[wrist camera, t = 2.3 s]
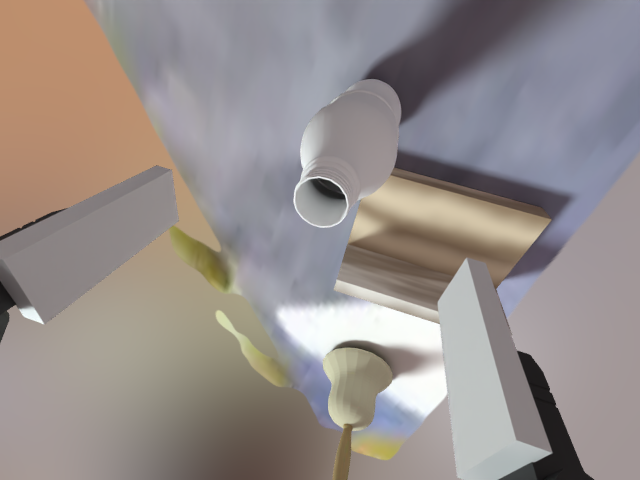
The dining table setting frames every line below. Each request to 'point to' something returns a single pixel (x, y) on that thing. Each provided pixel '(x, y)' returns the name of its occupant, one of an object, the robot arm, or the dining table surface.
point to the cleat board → (431, 241)
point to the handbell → (353, 395)
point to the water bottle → (347, 152)
